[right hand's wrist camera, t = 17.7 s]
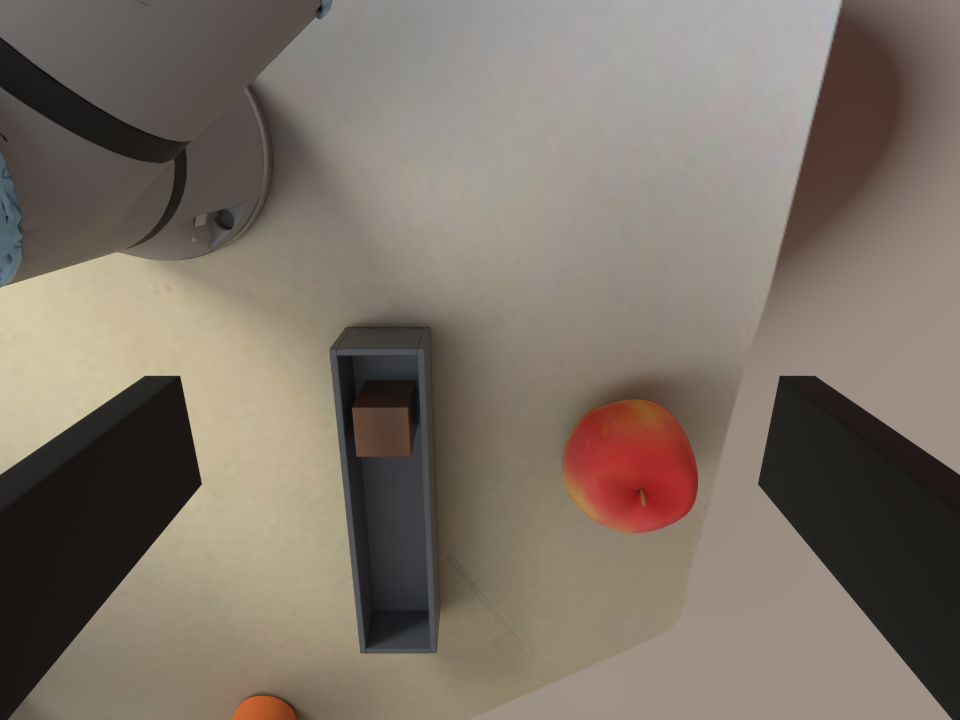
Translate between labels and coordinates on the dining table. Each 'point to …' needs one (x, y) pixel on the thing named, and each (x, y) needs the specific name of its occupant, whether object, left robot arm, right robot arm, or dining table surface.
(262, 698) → the cup with straw
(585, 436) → the apple
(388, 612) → the grey trough
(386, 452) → the walnut block
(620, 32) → the dining table surface
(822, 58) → the dining table surface
